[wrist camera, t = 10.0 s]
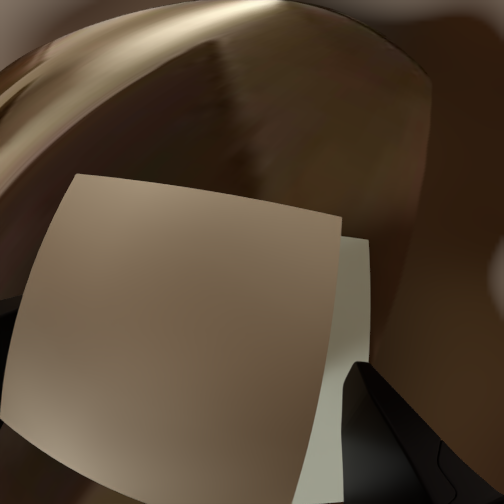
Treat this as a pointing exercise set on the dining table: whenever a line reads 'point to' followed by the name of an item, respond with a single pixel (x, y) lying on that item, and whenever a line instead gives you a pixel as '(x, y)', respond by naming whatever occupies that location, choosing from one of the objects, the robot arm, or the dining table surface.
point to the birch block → (175, 341)
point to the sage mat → (338, 375)
